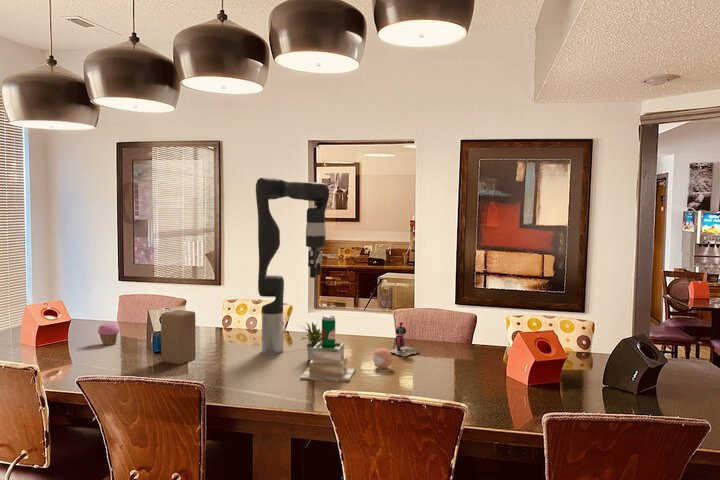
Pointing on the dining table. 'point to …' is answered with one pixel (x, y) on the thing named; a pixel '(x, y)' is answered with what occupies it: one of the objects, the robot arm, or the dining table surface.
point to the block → (178, 336)
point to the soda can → (328, 332)
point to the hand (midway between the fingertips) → (315, 276)
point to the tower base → (328, 364)
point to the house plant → (312, 339)
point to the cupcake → (108, 333)
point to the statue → (402, 342)
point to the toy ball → (382, 358)
